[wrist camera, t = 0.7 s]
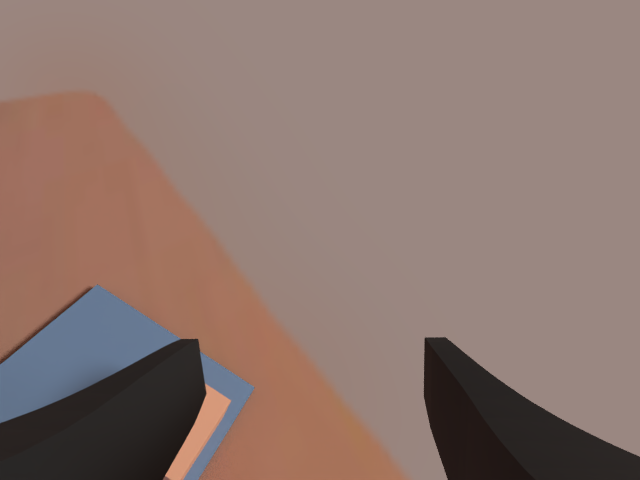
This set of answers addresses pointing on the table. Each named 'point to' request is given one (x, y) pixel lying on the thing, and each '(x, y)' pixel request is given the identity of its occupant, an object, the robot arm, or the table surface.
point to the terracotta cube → (199, 433)
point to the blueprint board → (101, 362)
